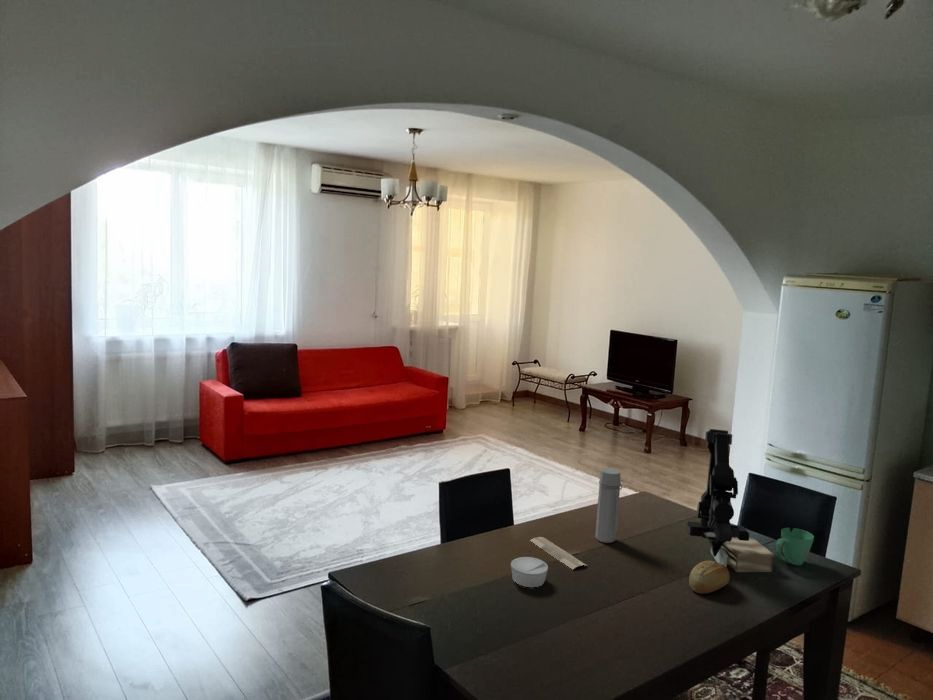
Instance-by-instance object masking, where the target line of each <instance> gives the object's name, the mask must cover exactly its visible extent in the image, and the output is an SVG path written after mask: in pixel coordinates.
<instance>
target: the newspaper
mask: <svg viewBox="0 0 933 700" xmlns="http://www.w3.org/2000/svg"><path fill="white" fill-rule="evenodd" d="M530 541H531V542H533V543H534V544H535V545H534V544H533V543H532V544H533V545H534V546H536V545H537V546H538V547H539V548H538V547H537V546H536V547H537V548H538V549H540V548H541V549H543V550H544V551H545V552H544V551H543V550H542V551H543V552H544V553H546V552H547V553H548V554H547V553H546V554H547V555H549V554H550V555H551V557H552V556H553V557H554V559H555V558H556V559H557V560H556V559H555V560H556V561H558V560H559V561H560V562H559V561H558V562H559V563H561V562H562V563H564V564H565V565H566V566H565V565H564V564H563V565H564V566H565V567H567V566H568V567H569V568H568V567H567V568H568V569H570V568H571V569H572V570H571V569H570V570H571V571H574V569H576V568H578V567H580V566H581V567H582V566H583V565H584V566H583V567H585V566H587V567H588V564H586V563H584V562H583V561H581V560H579V559H578V558H576V557H575V556H574V555H572V554H570V553H569V552H567V551H565V550H564V549H562V548H561V547H559V546H558V545H556V544H555V543H553V542H552V541H550V540H549V539H547V538H545V537H543V536H537V537H533V538H532V539H530V540H529V542H530ZM531 542H530V543H531ZM541 549H540V550H541ZM550 555H549V556H550ZM553 557H552V558H553ZM562 563H561V564H562Z"/></svg>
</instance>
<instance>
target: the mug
mask: <svg viewBox="0 0 933 700" xmlns="http://www.w3.org/2000/svg"><path fill="white" fill-rule="evenodd" d="M814 540H815V536H814V535H813V533H811V532H809V531H807V530H803V529H800V528H795V527H793V528H792V530H791V528H790V527H784V528H781V531H780V538H778V539H776V542H775V552H776V554H777V555H778V557H779V558H780V559H781V560H782V561H785V562H787V563H788V564H790V565H794V566H802V565H803V563H804V562H805V560H806V558H807V557H808V555H809V553H810V551H811V548H812V544H813V542H814Z"/></svg>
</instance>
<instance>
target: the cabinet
mask: <svg viewBox="0 0 933 700" xmlns="http://www.w3.org/2000/svg"><path fill="white" fill-rule="evenodd" d="M722 548H723V549H724V550H725V552H726V553H727V555H728V557H727V566H729V567H730V568H731V569H733V570H734V571H735V572H736V573H772V572H773V563H774V553H773V552H772V551H770V550H769V549H768V548H766V547H765V546H764V545H762V544H761V543H760V542H759V541H757V540H756V539H755V538H753V537H752V536H751V535H750V536H749V541H743V540H739V539H738V538H737V537H736V538H733V537H732V540H731V541H730V542H729V541H726V542H725V543H724V544H723V545H722Z"/></svg>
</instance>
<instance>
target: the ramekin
mask: <svg viewBox="0 0 933 700" xmlns="http://www.w3.org/2000/svg"><path fill="white" fill-rule="evenodd" d="M510 568H511V576H512V577H511V578H512V580H513V582H514V583H515V582H516V583H517V584H519V585H522V586H525V587H537V588H539V586H540V587H542V586H543V585H544V583H545V581H546V578H547V573H548V571H549V566H548V564H547V563H546V562H545V561H543V560H542V559H539V558H536V557H532V556H522V557H521V556H520V557H517V558H515V559H513V560H511V562H510ZM516 583H515V584H516ZM517 584H516V585H517ZM519 585H518V586H519ZM525 587H524V588H525Z"/></svg>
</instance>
